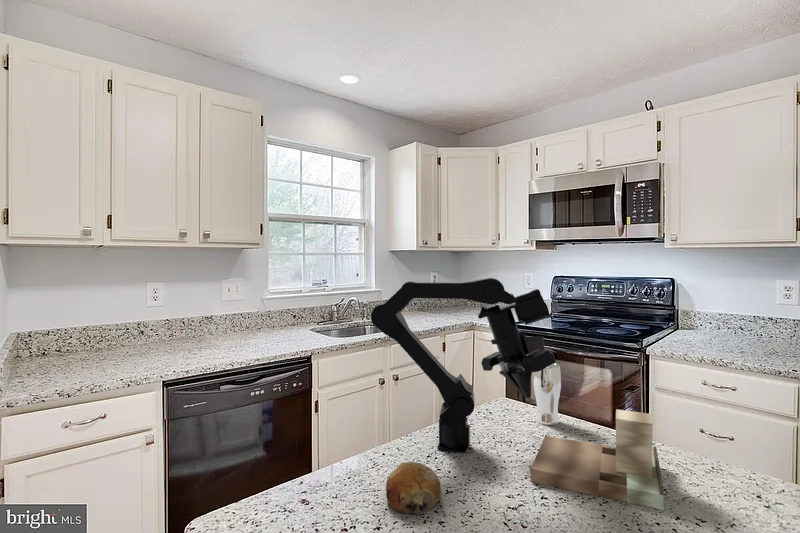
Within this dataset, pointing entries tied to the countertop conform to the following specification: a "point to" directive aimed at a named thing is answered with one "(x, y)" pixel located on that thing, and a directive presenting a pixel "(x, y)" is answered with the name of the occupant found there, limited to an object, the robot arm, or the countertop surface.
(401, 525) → the countertop surface
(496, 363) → the robot arm
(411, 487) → the bread roll
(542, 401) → the beer glass
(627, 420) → the birch block
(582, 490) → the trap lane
